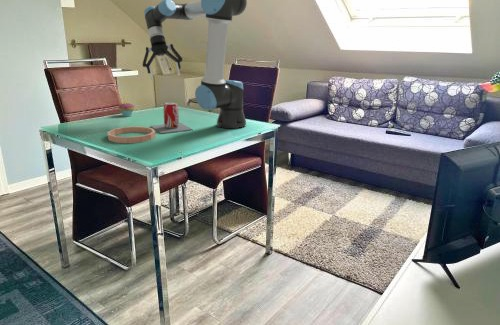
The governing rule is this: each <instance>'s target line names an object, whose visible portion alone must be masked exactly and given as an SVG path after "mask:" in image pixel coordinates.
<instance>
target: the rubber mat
mask: <svg viewBox="0 0 500 325" xmlns="http://www.w3.org/2000/svg"><path fill="white" fill-rule="evenodd" d="M149 128H152V129H154V131H155V132H157V133H159V134H160V135H166V134H174V133H182V132H191V130H192V131H193V128H191V127H189V126H187V125H185V124H184V123H182V122H179V126H178V127H177V128H173V129H170V128H167V127H165V125H164V124H154V125H150V126H149Z"/></svg>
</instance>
